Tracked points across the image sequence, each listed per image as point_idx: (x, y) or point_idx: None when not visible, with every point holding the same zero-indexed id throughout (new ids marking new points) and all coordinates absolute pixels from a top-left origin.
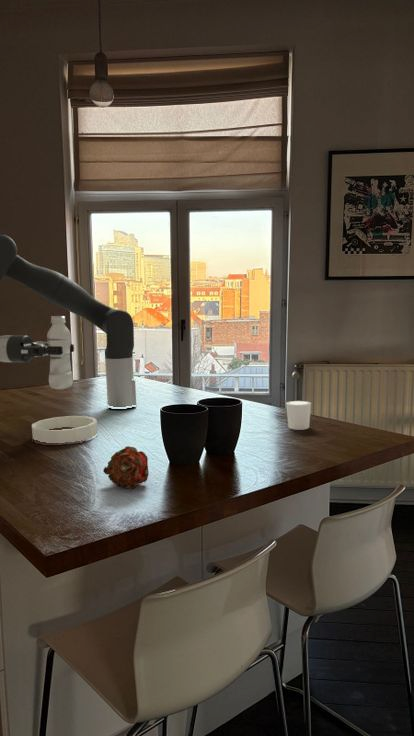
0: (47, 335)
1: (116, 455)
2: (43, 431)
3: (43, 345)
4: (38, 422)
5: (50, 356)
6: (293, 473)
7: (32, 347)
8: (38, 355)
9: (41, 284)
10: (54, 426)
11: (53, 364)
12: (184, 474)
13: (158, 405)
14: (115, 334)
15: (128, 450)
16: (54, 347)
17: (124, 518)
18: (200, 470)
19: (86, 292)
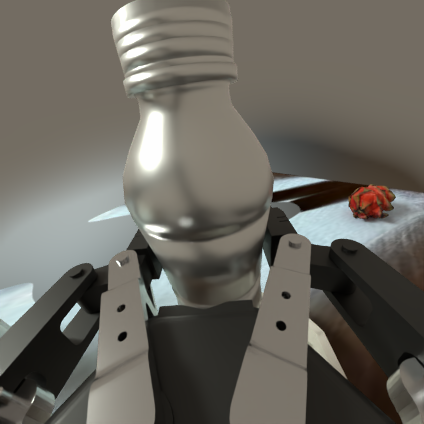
0: (257, 190)
1: (384, 195)
2: (342, 373)
3: (278, 268)
4: None
5: (250, 290)
6: (281, 176)
7: (417, 291)
8: (358, 292)
9: None
10: None
11: (261, 293)
12: (316, 200)
13: (28, 305)
14: None
15: (376, 186)
16: (275, 219)
17: (412, 198)
18: (302, 197)
19: None
